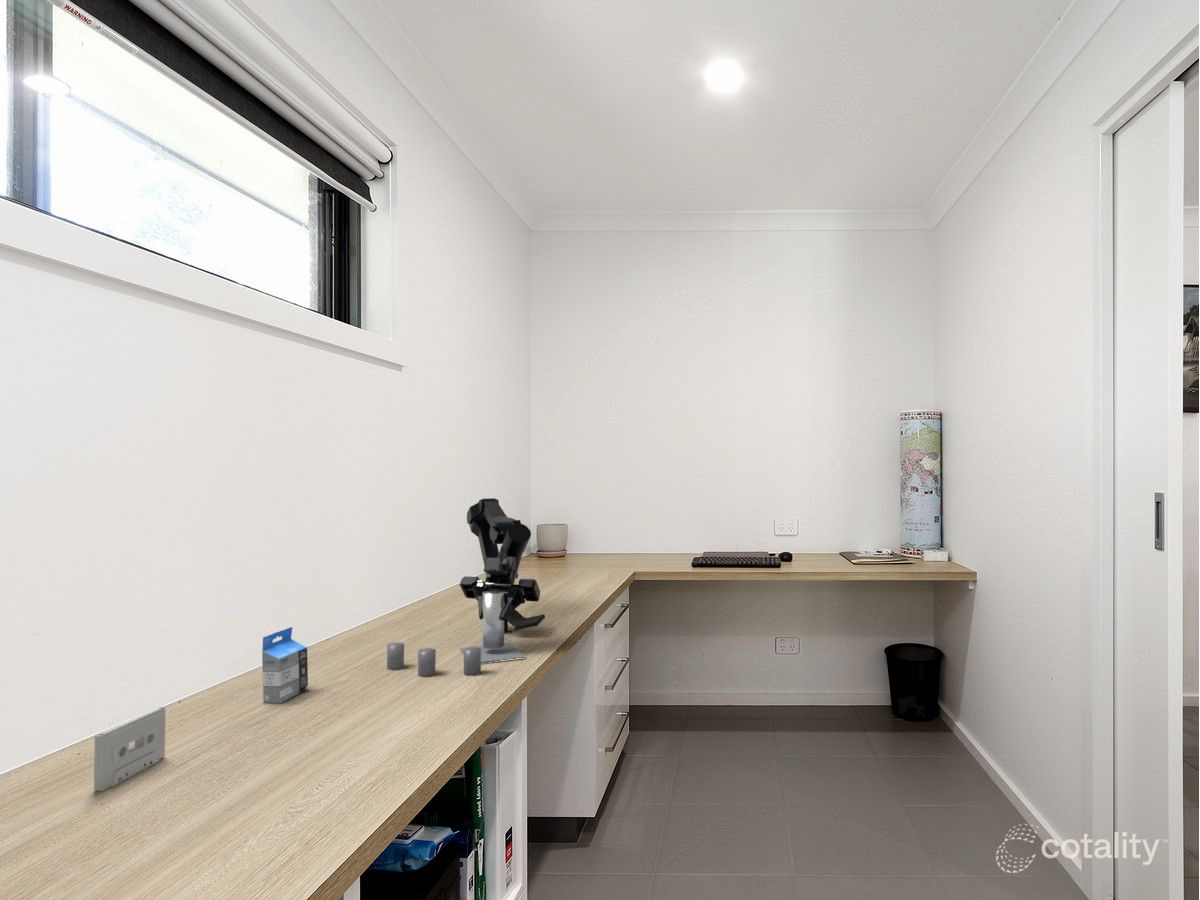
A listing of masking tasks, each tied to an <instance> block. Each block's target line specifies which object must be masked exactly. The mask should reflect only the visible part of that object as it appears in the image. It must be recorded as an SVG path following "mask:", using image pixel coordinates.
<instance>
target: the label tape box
mask: <svg viewBox="0 0 1200 900" xmlns="http://www.w3.org/2000/svg"><path fill="white" fill-rule="evenodd" d="M292 633H293V626H290V627H287V628H285V629H282V630H279V631H276V632H274V633H271V634H268V635H265V636H263V637H262V646H261V647H262V649H261V651H262V652H261V653H262V657H261V659H262V663H261V664H262V666H261V667H262V691H263V692H262V695H263V697H262V699H263V700H262V701H263V702H262V703H264V702H266V704H282V703H283V702H287V701H289V699H291V698H294V697H295V696H297V695H299V694H301V693H302V692H305V691H306V690H308V689H309V675H308V674H309V673H308V671H309V670H308V667H309V666H308V665H309V664H308V647H306V646H305V645H303V644H301V643H299V642H297V641H296V640H294V639H292ZM277 637H278V638H281V639H279V640H276V641H274V640H275V639H277ZM273 641H274V642H273ZM304 690H305V691H304ZM268 702H270V703H268Z"/></svg>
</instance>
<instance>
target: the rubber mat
mask: <svg viewBox="0 0 1200 900" xmlns="http://www.w3.org/2000/svg"><path fill="white" fill-rule="evenodd" d="M471 647H477V648H480V649H481V665H483V664H482V663H487V664H490V663H489V662H495V661H500V660H507V659H516V658H525V657H526V656H525V655H524V654H522V652H520V651H519V650H518V649H517V648H515V647H514V646H513V645H512V644H511V643H510V642H506V643H505V642H504V647H502V648H497V649H486V648H483V645H474V646H473V645H472V646H464V647H459V650H460V652H461V653H462V654H463V655H464V649H466V648H471Z"/></svg>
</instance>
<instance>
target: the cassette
mask: <svg viewBox="0 0 1200 900" xmlns="http://www.w3.org/2000/svg"><path fill="white" fill-rule="evenodd" d="M133 742H134V745H133V746H131V747H129V745H130V743H133ZM165 756H166V707H165V706H164V707H162V706H158V707H156V708H154V709H152V710H149V711H147V712H145V713H143V714H141V715H138V716H136V717H133V718H132V719H131V718H130V719H129V720H127V721H125V722H122V723H120V724H118V725H115V726H113V727H111V728H108V729H106V730H103V731H102V732H99V733H97V734H96V735H95V737H94V759H93V760H94V769H93V770H94V771H93V772H94V773H93V777H94V778H93V790H94V792H100V791H101V792H103V791H104V790H103V789H105V788H107V789H109V788H111V787H110V786H113V787H115V786H116V784H117V783H118V784H120V783H122V782H123V780H124V781H126V780H127V779H126V778H128V779H129V777H130V776H131V777H133V776H135V775H137V774H138V773H137V772H139V773H140V771H141V770H143V769H144V770H146V769H148V768H150V767H151V765H152V764H154V763H156V762H157V763H158V761H157V760H159V759H161V758H163V757H164V758H165ZM164 758H163V759H164ZM161 760H162V759H161ZM159 761H160V760H159ZM157 763H156V764H157ZM154 765H155V764H154ZM149 766H150V767H149ZM152 766H153V765H152ZM147 767H148V768H147ZM145 768H146V769H145ZM144 770H143V771H144ZM141 772H142V771H141ZM136 773H137V774H136ZM134 774H135V775H134ZM131 777H130V778H131ZM125 779H126V780H125ZM121 781H122V782H121ZM119 782H120V783H119ZM118 784H117V785H118ZM114 785H115V786H114ZM108 787H109V788H108ZM102 790H103V791H102ZM105 790H106V789H105Z"/></svg>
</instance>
